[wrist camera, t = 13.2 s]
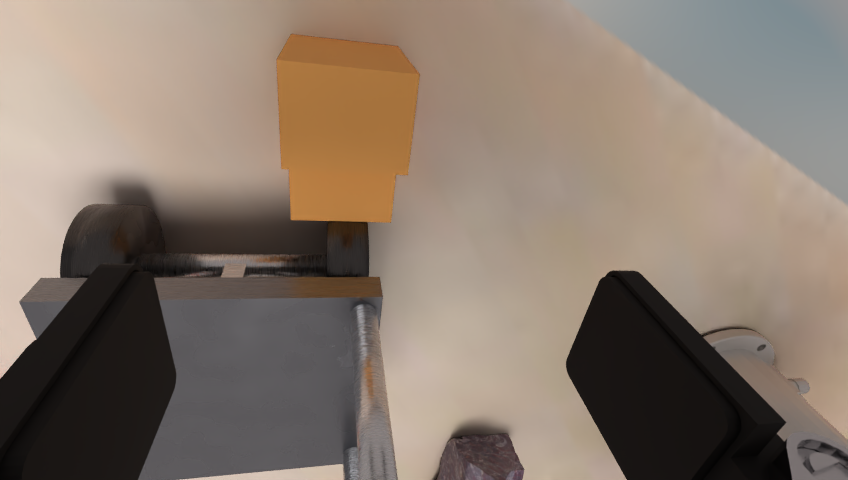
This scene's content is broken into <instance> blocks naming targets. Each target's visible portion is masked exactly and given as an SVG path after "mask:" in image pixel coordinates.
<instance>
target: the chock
mask: <svg viewBox="0 0 848 480" xmlns="http://www.w3.org/2000/svg"><path fill="white" fill-rule="evenodd" d="M419 77H420V74H419V73H418V72H417V70H416V69H415V68H414V66H413V65H412V64H411V63H410V61H409V60H408V59H407V57H406V56H405V55H404V54H403V52H402V51H401V50H400V48H399V47H398V46H390V45H382V44H373V43H364V42H355V41H347V40H338V39H329V38H321V37H312V36H303V35H294V34H291V35H290V37H289V39H288V41H287V42H286V44H285V46H284V48H283V49H282V51H281V53H280V55H279V56H278V58H277V81H278V103H279V125H280V147H281V169H289V183H290V210H291V220H311V221H352V222H391V217H392V208H393V198H394V188H395V179H396V175H408V169H409V161H410V152H411V144H412V136H413V127H414V119H415V110H416V102H417V93H418V85H419Z"/></svg>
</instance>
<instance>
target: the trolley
mask: <svg viewBox="0 0 848 480" xmlns="http://www.w3.org/2000/svg"><path fill="white" fill-rule="evenodd" d="M104 263H110V264H138V265H140V266H141V267H142V269H143V272H151V273H152V275H153V277H154V280H155V285H156V289H157V293H158V297H159V301H160V306H161V310H162V314H163V318H164V322H165V327H166V331H167V335H168V339H169V343H170V348H171V352H172V356H173V360H174V364H175V369H176V385H175V389H174V392H173V394H172V397H171V399H170V402H169V404H168V407H167V409H166V412H165V414H164V416H163V419H162V421H161V424H160V426H159V429H158V431H157V434H156V436H155V439H154V441H153V444H152V446H151V449H150V451H149V454H148V456H147V459H146V461H145V464H144V466H143V469H142V471H141V473H140V476H139V478H138V480H179V479H189V478H200V477H210V476H221V475H231V474H241V473H252V472H262V471H273V470H283V469H293V468H304V467H314V466H324V465H335V464H343V479H344V480H398V477H397V469H396V461H395V453H394V446H393V438H392V430H391V422H390V414H389V406H388V398H387V390H386V382H385V374H384V366H383V358H382V351H381V343H380V335H379V328H380V318H381V308H382V299H383V296H382V289H381V283H380V277H369V240H368V223H367V222H352V221H328V228H327V255H291V254H165V248H164V240H163V234H162V230H161V227H160V224H159V221H158V219H157V217H156V215H155V214H154V212H153V211H152V210H151V209H150V208H149V207H147V206H144V205H115V204H92V205H88V206H87V207H85V208H83V209H82V210H81V211H80V212H79V213H78V214H77V215H76V217H75V218H74V220H73V221H72V223H71V225H70V227H69V229H68V232H67V234H66V237H65V241H64V244H63V249H62V254H61V264H60V278H41V279H40V280H39V281H38V282H37V283H36V284H35V285H34V286H33V287H32V289H31V290H30V291H29V292H28V293H27V294H26V295H25V296H24V297H23V298H22V299H21V300H20V304H21V307H22V309H23V311H24V313H25V315H26V317H27V319H28V322H29V324H30V326H31V328H32V330H33V332H34V334H35V337H36V339H38V337H39V336H40V335H41V334H42V333H43V331H44V330H45V329H46V328H47V327H48V325H49V324H50V323H51V322H52V321H53V319H54V318H55V317H56V316H57V315H58V313H59V312H60V311H61V310H62V308H63V307H64V306H65V305H66V304H67V302H68V301H69V300H70V299H71V298H72V296H73V295H74V294H75V293H76V292H77V290H78V289H79V288H80V287H81V286H82V284H83V283H84V282H85V281H86V280H87V278H88V277H89V276H90V275H91V274H92V272H93V271H94V270H95V269H96V268H97V267H98V266H99V265H100V264H104ZM164 277H214V278H164Z"/></svg>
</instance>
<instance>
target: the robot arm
mask: <svg viewBox="0 0 848 480" xmlns="http://www.w3.org/2000/svg"><path fill="white" fill-rule="evenodd" d="M774 357H775V352H774V348H773V346H772V345H771V343H770V342H769V341H768V340H766V339H765V338H764V337H763V336H762V335H761V334H759V333H757V332H755V331H752V330H747V329H730V330H724V331H719V332H716V333H712V334H709V335H706V336H704V337H702V336H701V335H700V334H699V333H698V332H697V331H696V330H695V329H694V328H693V327H692V325H691V324H690V323H689V322H688V321H687V320H686V319H685V318H684V317H683V316H682V315H681V314H680V313H679V312H678V311H677V310H676V309H675V308H674V307H673V306H672V305H671V304H670V303H669V302H668V301H667V300H666V299H665V298H664V297H663V296H662V295H661V294H660V293H659V292H658V291H657V290H656V289H655V288H654V287H653V286H652V285H651V284H650V283H649V282H648V281H647V280H646V279H645V278H644V277H643V276H642V275H641V274H640V273H639V272H636V271H610V272H609V273H608V274H607V275H606V276H605V277H603V278H602V279H601V280H600V281H599V283H598V286H597V288H596V290H595V293H594V295H593V298H592V300H591V302H590V305H589V307H588V310H587V312H586V314H585V317H584V319H583V322H582V324H581V326H580V329H579V331H578V334H577V336H576V338H575V341H574V343H573V346H572V348H571V350H570V353H569V355H568V357H567V361H566V368H567V372H568V375H569V377H570V379H571V380H572V382H573V384H574V386H575V388H576V389H577V391H578V393H579V395H580V397H581V398H582V400H583V402H584V404H585V405H586V407H587V409H588V411H589V413H590V414H591V416H592V418H593V420H594V422H595V423H596V425H597V427H598V429H599V431H600V432H601V434H602V436H603V438H604V440H605V441H606V443H607V445H608V447H609V449H610V450H611V452H612V454H613V456H614V457H615V459H616V461H617V463H618V465H619V466H620V468H621V470H622V472H623V474H624V475H625V477H626V479H627V480H848V440H847V439H846V438H845V437H844V436H843V435H842V434H841V433H840V432H839V431H838V430H837V429H836V428H834V427H833V426H832V425H831V424H830V423H829V422H828V421H827V420H826V419H825V418H824V417H823V416H822V415H820V414H819V413H818V412H817V411H816V410H815V409H814V408H813V407H812V406H811V405H810V404H809V403H808V402H806V400H805V399H804V398H803V396H802V395H801V394H803V393H807V392H809V389H810V387H809V384H808V383H807V381H806V380H804V379H802V378H793V379H787V378H786V377H784V376H783V375H782V374H781V373H780V372H779V371H778V370H777V369H776V368H775V367H774V366H773V364H774ZM175 385H176V369H175V364H174V360H173V356H172V352H171V348H170V343H169V339H168V335H167V331H166V327H165V322H164V318H163V314H162V310H161V306H160V301H159V297H158V293H157V289H156V285H155V280H154V277H153V275H152V273H151V272H143V269H142V267H141V266H140V265H138V264H110V263H104V264H100V265H99V266H98V267H97V268H96V269H95V270H94V271H93V272H92V274H91V275H90V276H89V277H88V278H87V280H86V281H85V282H84V283H83V284H82V286H81V287H80V288H79V289H78V290H77V292H76V293H75V294H74V295H73V296H72V298H71V299H70V300H69V301H68V302H67V304H66V305H65V306H64V307H63V308H62V310H61V311H60V312H59V313H58V315H57V316H56V317H55V318H54V319H53V321H52V322H51V323H50V324H49V325H48V327H47V328H46V329H45V330H44V331H43V333H42V334H41V335H40V336H39V337H38V339H37V340H35V341H34V342H32V343H31V344H30V345H29V346H28V347H27V348H26V349H25V350H24V352H23V353H22V354H21V355H20V356H19V358H18V359H17V360H16V361H15V362H14V363H13V365H12V366H11V367H10V368H9V369H8V371H7V372H6V373H5V374H4V375H3V377H2V378H1V379H0V480H138V478H139V476H140V473H141V471H142V469H143V466H144V464H145V461H146V459H147V456H148V454H149V451H150V449H151V446H152V444H153V441H154V439H155V436H156V434H157V431H158V429H159V426H160V424H161V421H162V419H163V416H164V414H165V412H166V409H167V407H168V404H169V402H170V399H171V397H172V394H173V392H174V389H175Z"/></svg>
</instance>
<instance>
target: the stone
mask: <svg viewBox="0 0 848 480" xmlns="http://www.w3.org/2000/svg"><path fill="white" fill-rule="evenodd" d="M523 474H524V468H523V466H522V465H521V463H520V461H519V458H518V456H517V454H516V453H515V450H514V447H513V444H512V441H511V439H510V437H509V435H507V434H496V435H487V436H485V435H471V436H463V437H461V438H453V439H451V440H450V441H449V442H448V443H447V445H446V447H445V449H444V452H443V454H442V458H441V463H440V472H439V475H438V478H437V479H436V480H522V479H523Z"/></svg>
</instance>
